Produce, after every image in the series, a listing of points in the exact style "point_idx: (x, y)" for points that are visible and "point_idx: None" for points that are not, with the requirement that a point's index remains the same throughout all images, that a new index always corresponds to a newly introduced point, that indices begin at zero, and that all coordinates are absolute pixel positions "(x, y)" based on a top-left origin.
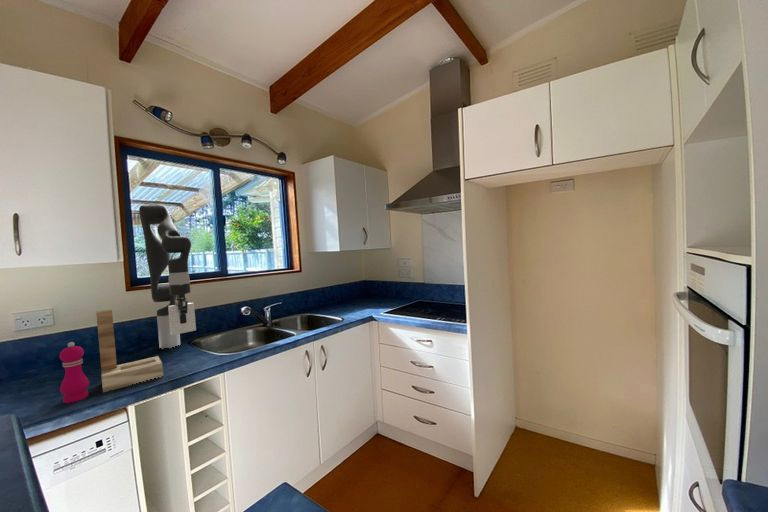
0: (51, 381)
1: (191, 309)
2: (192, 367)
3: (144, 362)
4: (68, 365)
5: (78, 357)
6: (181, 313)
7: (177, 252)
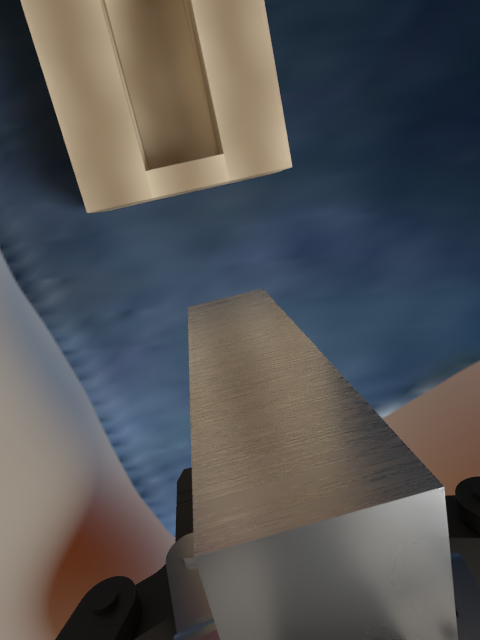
0: None
1: None
2: (169, 345)
3: (209, 88)
4: None
5: None
6: (84, 612)
7: None
